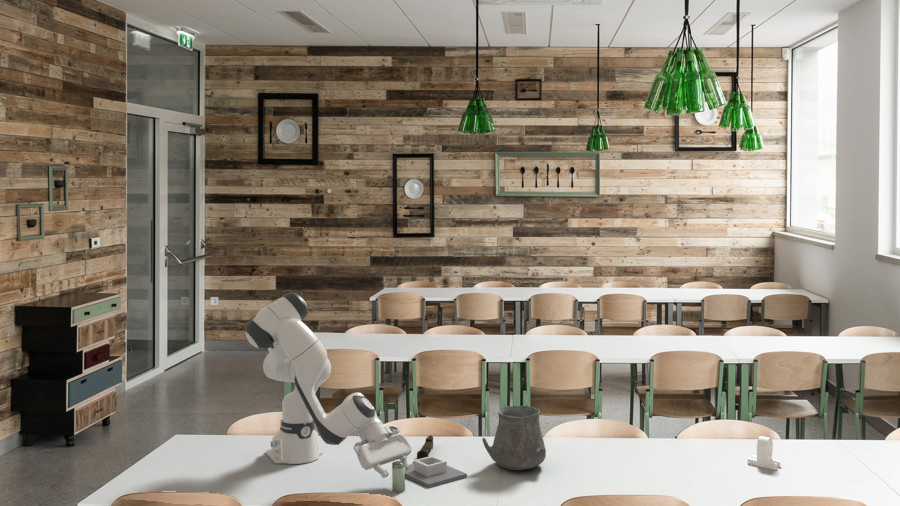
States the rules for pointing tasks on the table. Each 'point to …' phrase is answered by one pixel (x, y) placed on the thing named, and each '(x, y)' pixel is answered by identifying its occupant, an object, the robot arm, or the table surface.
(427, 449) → the brown wooden log
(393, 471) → the green cylinder
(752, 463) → the cable organizer
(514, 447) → the vessel
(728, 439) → the table surface
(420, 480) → the docking plate
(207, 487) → the table surface
